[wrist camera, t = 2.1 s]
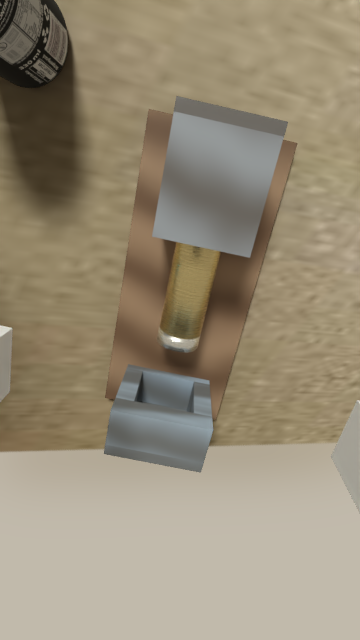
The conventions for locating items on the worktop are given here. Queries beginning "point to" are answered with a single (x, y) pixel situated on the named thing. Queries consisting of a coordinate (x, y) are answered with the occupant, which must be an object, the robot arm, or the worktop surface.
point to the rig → (155, 265)
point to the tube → (187, 297)
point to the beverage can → (31, 41)
